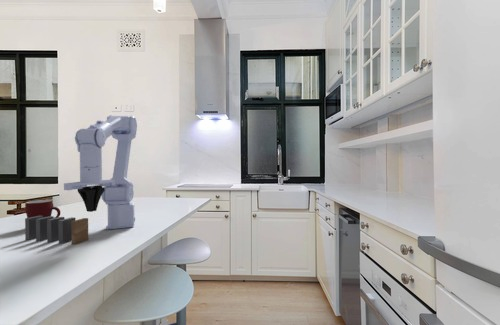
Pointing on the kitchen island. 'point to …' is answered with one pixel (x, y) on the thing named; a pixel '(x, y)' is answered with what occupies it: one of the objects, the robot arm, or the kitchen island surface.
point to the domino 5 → (79, 230)
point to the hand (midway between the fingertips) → (91, 211)
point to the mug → (40, 208)
